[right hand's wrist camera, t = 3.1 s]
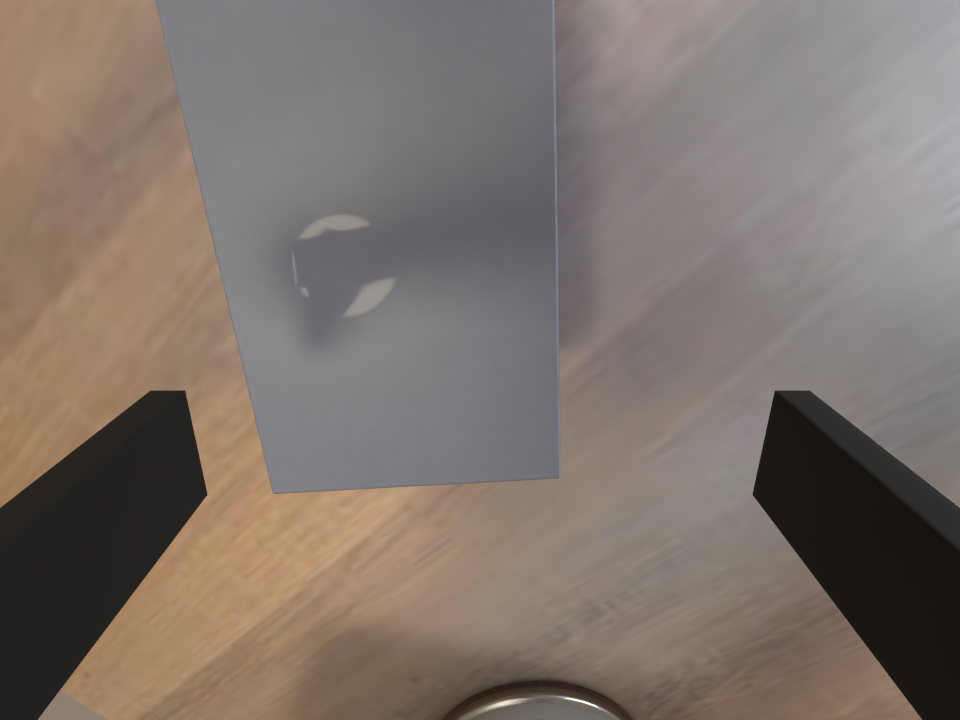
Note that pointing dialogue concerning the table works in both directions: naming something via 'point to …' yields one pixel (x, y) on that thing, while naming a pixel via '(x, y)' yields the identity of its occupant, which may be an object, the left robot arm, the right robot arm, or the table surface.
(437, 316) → the cabinet
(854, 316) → the table surface
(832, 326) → the table surface
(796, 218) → the table surface
